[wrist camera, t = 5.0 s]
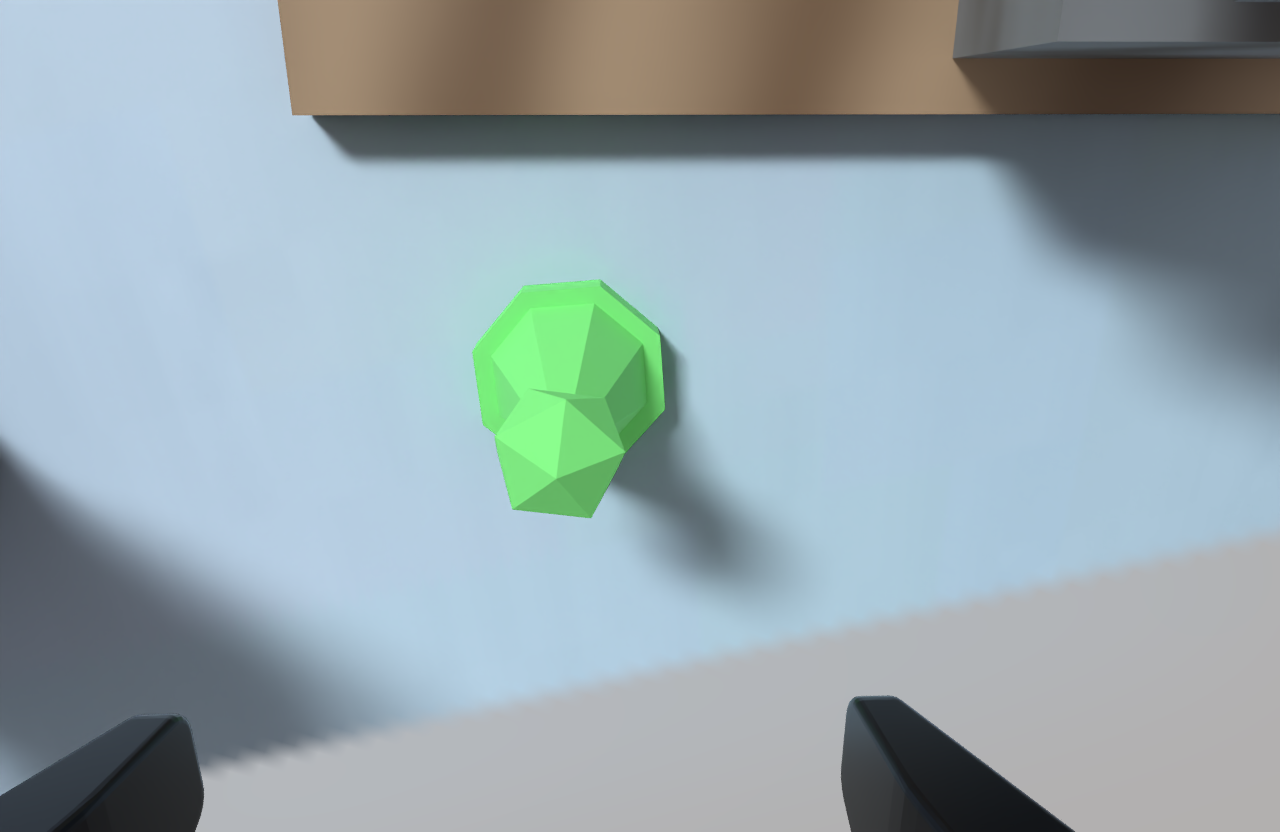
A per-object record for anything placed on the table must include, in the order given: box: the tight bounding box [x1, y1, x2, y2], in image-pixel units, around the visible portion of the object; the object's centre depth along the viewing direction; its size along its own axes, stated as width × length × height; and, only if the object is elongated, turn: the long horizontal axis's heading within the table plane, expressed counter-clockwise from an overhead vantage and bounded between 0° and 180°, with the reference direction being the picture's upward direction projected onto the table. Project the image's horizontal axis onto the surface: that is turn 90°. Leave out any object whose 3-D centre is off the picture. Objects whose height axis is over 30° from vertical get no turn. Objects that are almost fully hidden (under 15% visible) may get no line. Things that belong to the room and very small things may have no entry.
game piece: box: [472, 280, 665, 518], centre depth 16 cm, size 4×4×6 cm
